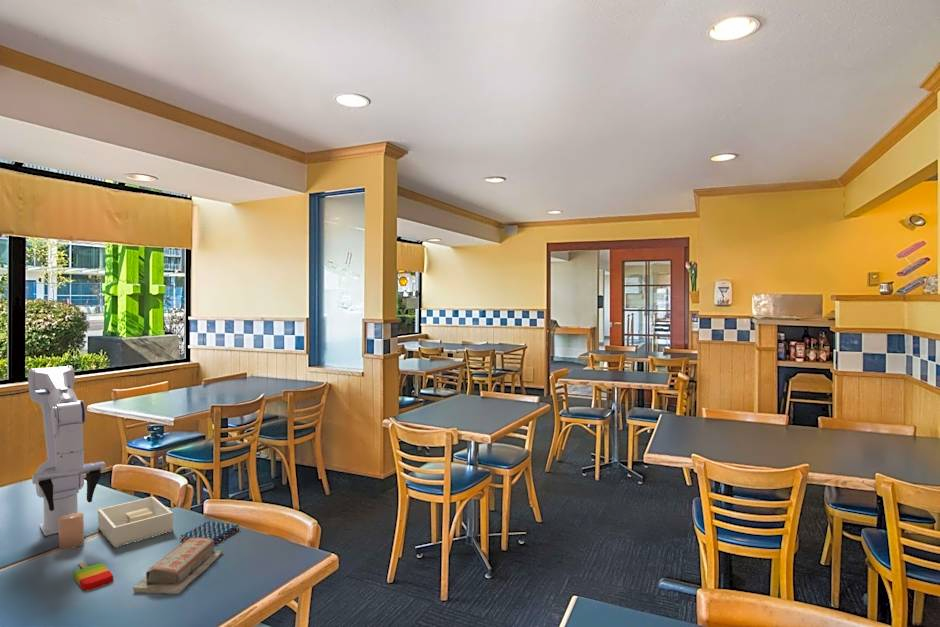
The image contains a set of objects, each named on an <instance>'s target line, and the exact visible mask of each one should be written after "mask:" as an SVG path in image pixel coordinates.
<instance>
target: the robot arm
mask: <svg viewBox="0 0 940 627" xmlns="http://www.w3.org/2000/svg"><path fill="white" fill-rule="evenodd" d="M75 378H76V376H75V369H74V367H73V366H72V365H66V366H62V365H61V366H51V367H37V368H36V367H35V368H34V367H31V368H30V369H29V370H28V373H27V384H28V392H29V398H30V400H31V401H32V402H34V403H36V404H38V405H39V407H40V409H41V413H42V422H43V429H44V440H45V441H44V442H45V449H46V458H47V460H45V461H44V462H43V463H41V464H40V465H39V466H37V469H36V470H35V473H33V474H31V478H32V479H31V481H32V484H33V485H35V492H36V495H37V497H38V498H43V523H40V524H39V528H40V529H41V531H42V533H43V535H44V536H45V537H47V536H51V535H54V534H55V535H56V534H59V521H58V519H59V518H60V517H62V516H64V515H68V514H72V513H79V510H78V508H79V507H78V494H79V492H80V490H82V489H83V487H84V485H85V477H86V501H87V503H92V502H93V497H94V493H95V490H96V487H97V485H98V483H99V480H100V479H101V477H102V472H104V471H106V463H105V462H104V461H97V462H90V463H85V460H84V458H85V457H84V456H85V454H84V453H85V452H84V424H85V423H86V420H87V419H86V418H87V411H86V406H85V402H84V400H79V399H78V397H77V395H76V392H75V391H74V385H75Z"/></svg>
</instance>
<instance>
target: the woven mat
mask: <svg viewBox="0 0 940 627" xmlns="http://www.w3.org/2000/svg"><path fill="white" fill-rule="evenodd" d="M239 526H240V525H239V524H235V523H231V524H230V523H225V522H221V521H218V522H216V521H205V522H204V523H203V524H200V525H199V526H197V527H195V528H194V529H190V531H189V532H188V531H187V532H186V531H185V532H186V533H185V534H181V535H180V538H179V540H181V541H182V540H183V541H182V543H184V542H185V541H186V540H188V539H189V538H210V539H212V540H214V543H215V544H218V543H219V542H221V540H219V539H222V538H223V539H225V538H224V537H226V538H227V537H228V536H227V535H229V534H230V535H231V533H232V534H234V533H235V532H236V531H238V530H237V529H239V530H240V528H239ZM235 530H236V531H235ZM234 531H235V532H234ZM233 532H234V533H233ZM230 535H229V536H230ZM223 539H222V540H223ZM217 541H219V542H217Z"/></svg>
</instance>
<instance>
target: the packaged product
mask: <svg viewBox="0 0 940 627" xmlns="http://www.w3.org/2000/svg"><path fill="white" fill-rule="evenodd" d="M214 549H215V544H214V540H212V539H210V538H189V539H188V540H186V541H185V542H181V544H180V545H179V546H177V547H176V548H174V549H173V550H172V551H171V552H169V553H168V554H166V555H165V556H164V557H163V558H161V559H160V560H159V561H157V562H156V563H155V564H153V565H152V566H151V567H149V569H147V571H146V573H145V577H144V578H142V579H141V580H140V581H139V582H137V583H136V584H135V585H133V587H132V589H133V593H134V592H140V594H142V593H141V592H146V593H145V594H172V595H173V594H175V595H176V594H180V593H181V592H182V591H184V590H185V588H186V587H188V585H189V584H190V583H192V582H193V581H194V580H195V579H196V578H197V577H199V576H200V575H201V574H202V573H203V572H204V571H206V570H207V569H208V568H209V567H210V566H211V565H212V564H213V563H214V562H215V561H216V560H217V559H218V558H220V556H221V555H222V554H223V552H224V551H223V550H214Z"/></svg>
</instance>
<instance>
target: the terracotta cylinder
mask: <svg viewBox="0 0 940 627" xmlns="http://www.w3.org/2000/svg"><path fill="white" fill-rule="evenodd" d="M84 518H85V517H84V513H82V512H78V513H72V514H68V515H64V516H62V517H60V518H59V519H58V521H59V533H58V548H59V549H60V550H69V549H68V548H71V549H74V548H73V547H75V548H77V546H78V547H79V545H80V546H82V545H83V544H85V529H84V528H85V526H84V524H85V523H84V522H85V521H84ZM81 544H82V545H81Z"/></svg>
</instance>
